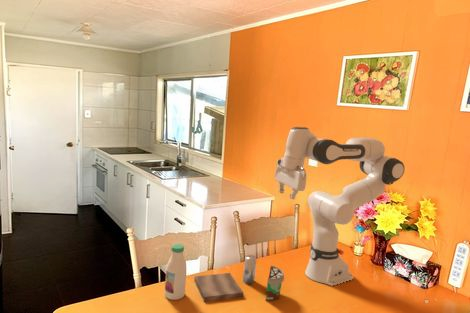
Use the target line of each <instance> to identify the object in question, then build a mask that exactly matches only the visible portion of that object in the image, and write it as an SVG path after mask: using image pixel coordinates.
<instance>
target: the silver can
mask: <svg viewBox="0 0 470 313" xmlns="http://www.w3.org/2000/svg"><path fill="white" fill-rule="evenodd" d="M257 259H258V258H257V256H255V255H252V254H247V255H245V256H244V264H243V274H242V282H243V283H244V284H246V285H253V284H254V283H255V280H256V279H255V277H256V268H257Z"/></svg>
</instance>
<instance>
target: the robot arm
mask: <svg viewBox="0 0 470 313" xmlns="http://www.w3.org/2000/svg"><path fill="white" fill-rule="evenodd" d="M384 144H385V143H383V142H382V141H381V140H378V139H376V138H372V137H363V136H361V137H360V136H359V137H352V138H349V139H348V140H347V141H346V142H345V143H342V144H341V143H338V142H336V141H335V140H333V139H326V138H325V139H324V138H321V137H317V136H316V135H315V134H313V133H312V132H311V130H310V128H308V127H303V126H294V127H293V128H291V129H290V131H289V132H288V136H287V140H286V143H285V152H284V155H283V157H281V158H278V159H277V160H276V168H275V173H274V179H275V181H276V182H278V188H279V190H278V193H280V194H284V193H285V189H284V188H285V187H284V186H287V187H289V188H291V190H292V192H291V193H290V194H289V199H290V200H296V196H297V194H298V193H299V191H300V192H304V191H305V189H306V185H307V172H306V169H305V168H304V165H305V164H304V163H305V158H307V159H309V160H312V161H316V162H319V163H321V164H324V165H331V164H333V163H335V162H337V161H340V160H350V161H353V162H359V169H360V171H361V172H362V173H364V174H365V175H366V176H365V178H362V179H360V180H358V181H355V182H352V183H351V184H347V185H346V186H344V187H343V189H342V192H341V193H340V194H337V195H335V194H332V193H329V192H327V191H324V190H323V191H322V190H315V191H313V192H311V193H310V194H309V195H308V197H307V198H308V199H307V204H308V207H309V209H310V212H311V216H312V223H313V224H312V225H313V234H312V235H313V236H312V243H311V245H310V250H309V252H310V253H309V254H310V256H309V260H308V263H307V266H306V269H305V271H304V273H305V276H306V277H307V278H309V279H310V280H312V281H314V282H317V283H322V284H326V285H329V286H331V287H332V286H333V285H334V286H337V284H338V285H340V283H341V284H344V283H347V282H346V281H348V282H350V281H349V280H351V281H353V280H354V276H353V274H352V273H351V272H350V267H349V265H348V263H347V262H346V261H345V260H344V259H343V258H342V257H341V256H343V255H344V254H345V252H344V250H342V249H339V248H338V244H339V243H338V241H339V235H340V234H339V231H338V228H337V227H336V224H338V225H343V226H344V225H348V224H349V223H351V221H352V220H353V218H354V216H355V211H356V210H357V209H358V208H361V207H362V206H364V205H366V204H369V203H371V202H373V201H374V200H376V199H377V198H379V197H381V195H383V194H384V193H385V191H386V185H387V186H389V185H392V184H394V183H396V182H398V180H400V179H401V178H402V177H403V175H404V174H405V164H404V163H403V161H401V160H400V159H398V158H395V157H391V156H388V155H385V151H386V149H385V145H384ZM340 255H341V256H340ZM352 279H353V280H352ZM343 282H344V283H343Z"/></svg>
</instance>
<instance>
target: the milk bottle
mask: <svg viewBox="0 0 470 313" xmlns="http://www.w3.org/2000/svg"><path fill="white" fill-rule="evenodd" d="M184 250H185V246H184V245H183V244H179V243H178V244H177V243H176V244H173V245H172V246H171V255H170V258H169V260H168V261H167V264H166V267H165V268H166V269H165V270H166V271H165V283H164V297H165V298H166V299H168V300H171V301H178V300H181V299H182V298H184V296H185V294H186V282H187V281H186V280H187V262H186V260H185V257H184V252H185V251H184Z"/></svg>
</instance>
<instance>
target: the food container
mask: <svg viewBox="0 0 470 313" xmlns="http://www.w3.org/2000/svg"><path fill="white" fill-rule="evenodd" d="M284 281H285V274H284V272H283V270H282V269H281V268H279V267H277V266H274V265H270V268H269V273H268V278H267V285H266V292H265V293H266V294H265V301H266V302H275V301H277V300H279V298H280V294H281V289H282V283H283V282H284Z"/></svg>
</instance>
